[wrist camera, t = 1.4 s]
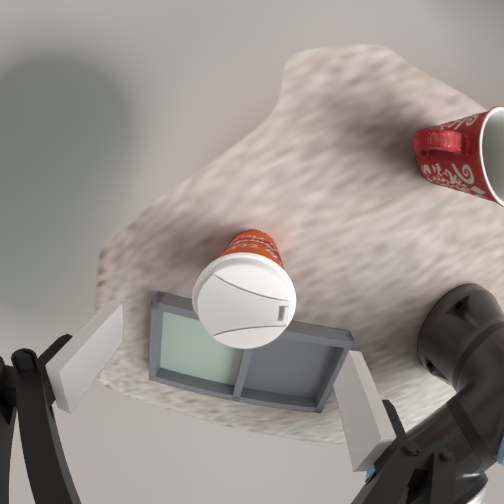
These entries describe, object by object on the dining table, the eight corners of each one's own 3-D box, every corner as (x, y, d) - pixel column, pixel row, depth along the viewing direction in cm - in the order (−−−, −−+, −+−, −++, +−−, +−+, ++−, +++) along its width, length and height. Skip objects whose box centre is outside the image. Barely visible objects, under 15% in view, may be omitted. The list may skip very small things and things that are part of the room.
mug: (466, 130, 28) (537, 125, 15) (461, 197, 30) (532, 216, 17) (384, 104, 28) (445, 76, 15) (379, 179, 31) (441, 190, 18)
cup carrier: (349, 330, 36) (354, 342, 33) (318, 400, 40) (320, 412, 37) (159, 291, 36) (151, 300, 33) (155, 367, 40) (148, 379, 37)
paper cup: (290, 223, 33) (304, 263, 19) (282, 287, 35) (289, 358, 21) (220, 217, 33) (187, 252, 20) (217, 281, 35) (188, 347, 22)
